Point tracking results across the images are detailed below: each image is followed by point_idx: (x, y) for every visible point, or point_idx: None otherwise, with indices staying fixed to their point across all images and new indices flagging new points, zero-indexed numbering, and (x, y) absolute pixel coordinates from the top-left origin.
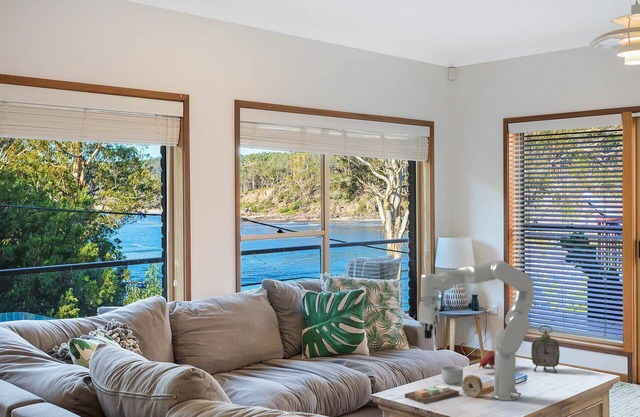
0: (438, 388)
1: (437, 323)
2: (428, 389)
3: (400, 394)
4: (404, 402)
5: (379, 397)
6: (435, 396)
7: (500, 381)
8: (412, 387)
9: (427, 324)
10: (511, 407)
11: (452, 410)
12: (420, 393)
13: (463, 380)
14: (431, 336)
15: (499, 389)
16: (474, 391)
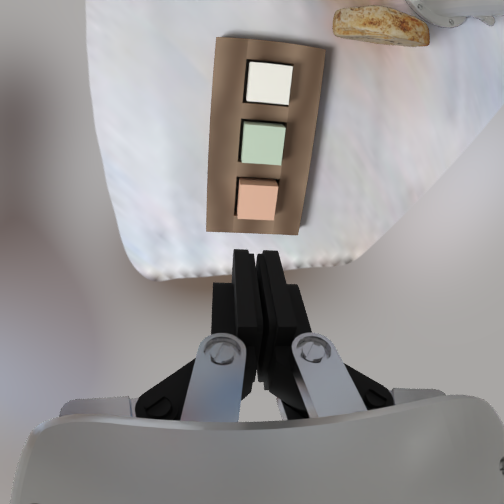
0: (263, 101)
1: (453, 403)
2: (257, 161)
3: (170, 211)
4: None
5: (161, 280)
6: (305, 175)
7: (477, 14)
8: (126, 110)
9: (216, 416)
10: (485, 79)
11: (393, 215)
12: (267, 219)
13: (349, 26)
14: (278, 261)
15: (455, 14)
16: (387, 41)
